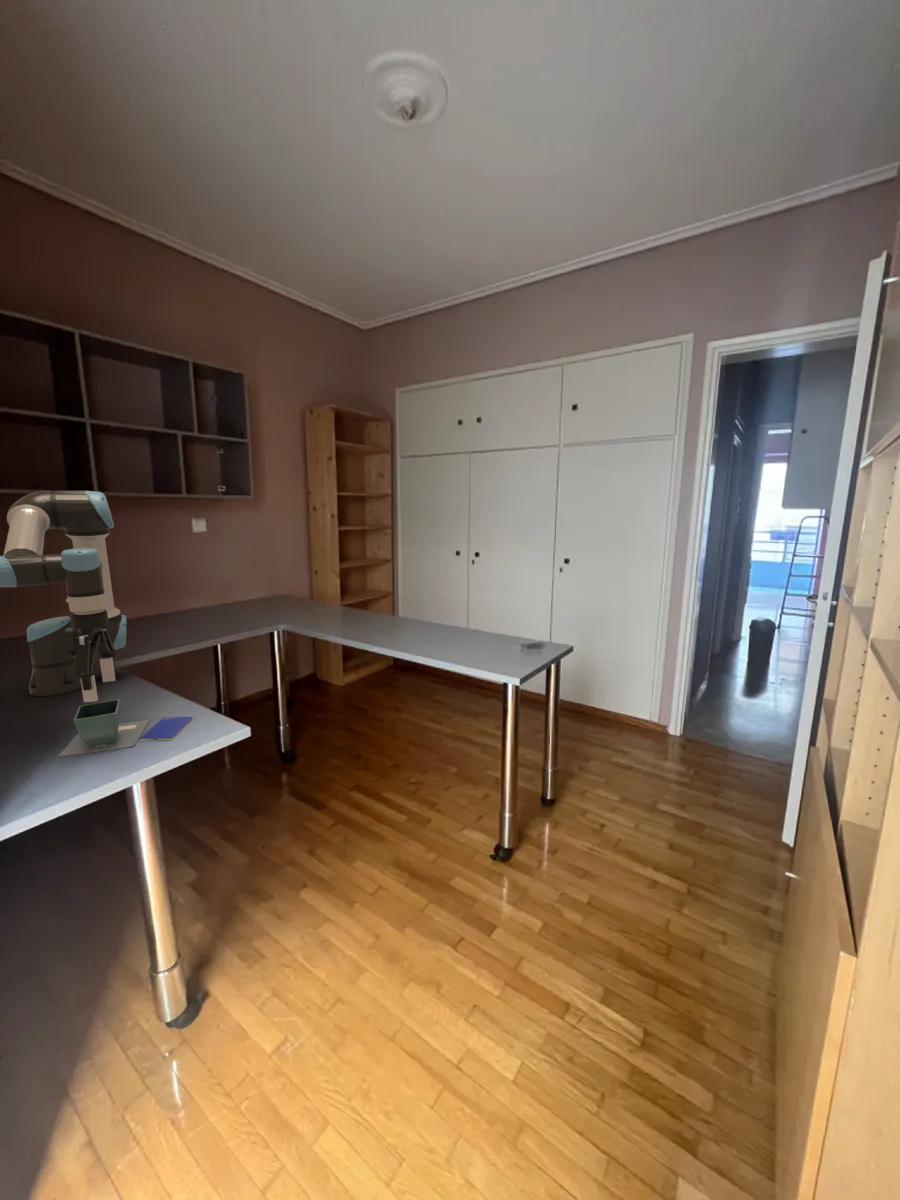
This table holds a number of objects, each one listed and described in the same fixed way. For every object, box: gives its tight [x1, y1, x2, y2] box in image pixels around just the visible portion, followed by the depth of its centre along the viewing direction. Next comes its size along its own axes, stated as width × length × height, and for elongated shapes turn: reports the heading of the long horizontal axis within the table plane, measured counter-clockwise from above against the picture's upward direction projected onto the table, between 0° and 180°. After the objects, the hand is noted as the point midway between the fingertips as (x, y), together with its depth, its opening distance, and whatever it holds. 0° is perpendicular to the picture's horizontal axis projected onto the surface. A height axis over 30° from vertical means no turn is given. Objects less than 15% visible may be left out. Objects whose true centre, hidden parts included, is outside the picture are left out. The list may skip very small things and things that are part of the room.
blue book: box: [138, 716, 194, 742], centre depth 133 cm, size 2×8×12 cm
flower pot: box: [73, 699, 121, 747], centre depth 125 cm, size 9×9×9 cm
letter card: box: [57, 719, 151, 758], centre depth 128 cm, size 16×16×1 cm
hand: (100, 690), depth 126 cm, fingers open, 13 cm apart
